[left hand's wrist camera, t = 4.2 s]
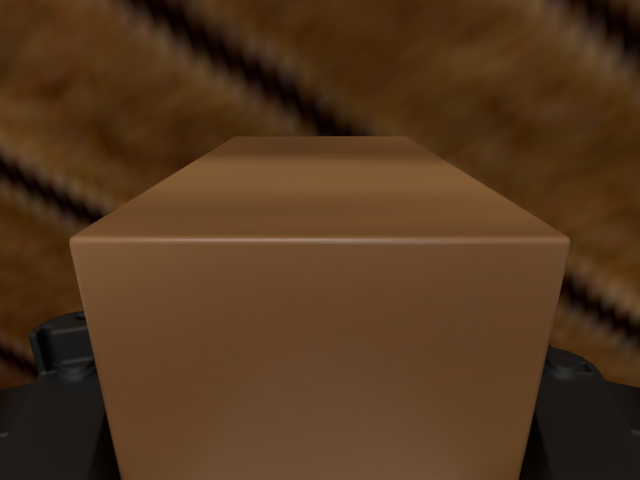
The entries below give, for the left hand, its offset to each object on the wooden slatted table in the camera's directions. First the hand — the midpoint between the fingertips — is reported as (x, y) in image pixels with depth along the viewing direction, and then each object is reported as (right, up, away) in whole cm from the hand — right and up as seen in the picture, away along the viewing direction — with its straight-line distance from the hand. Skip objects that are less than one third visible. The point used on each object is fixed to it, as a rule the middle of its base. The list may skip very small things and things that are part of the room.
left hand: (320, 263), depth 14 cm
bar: (0, -7, +3) cm, 8 cm away
